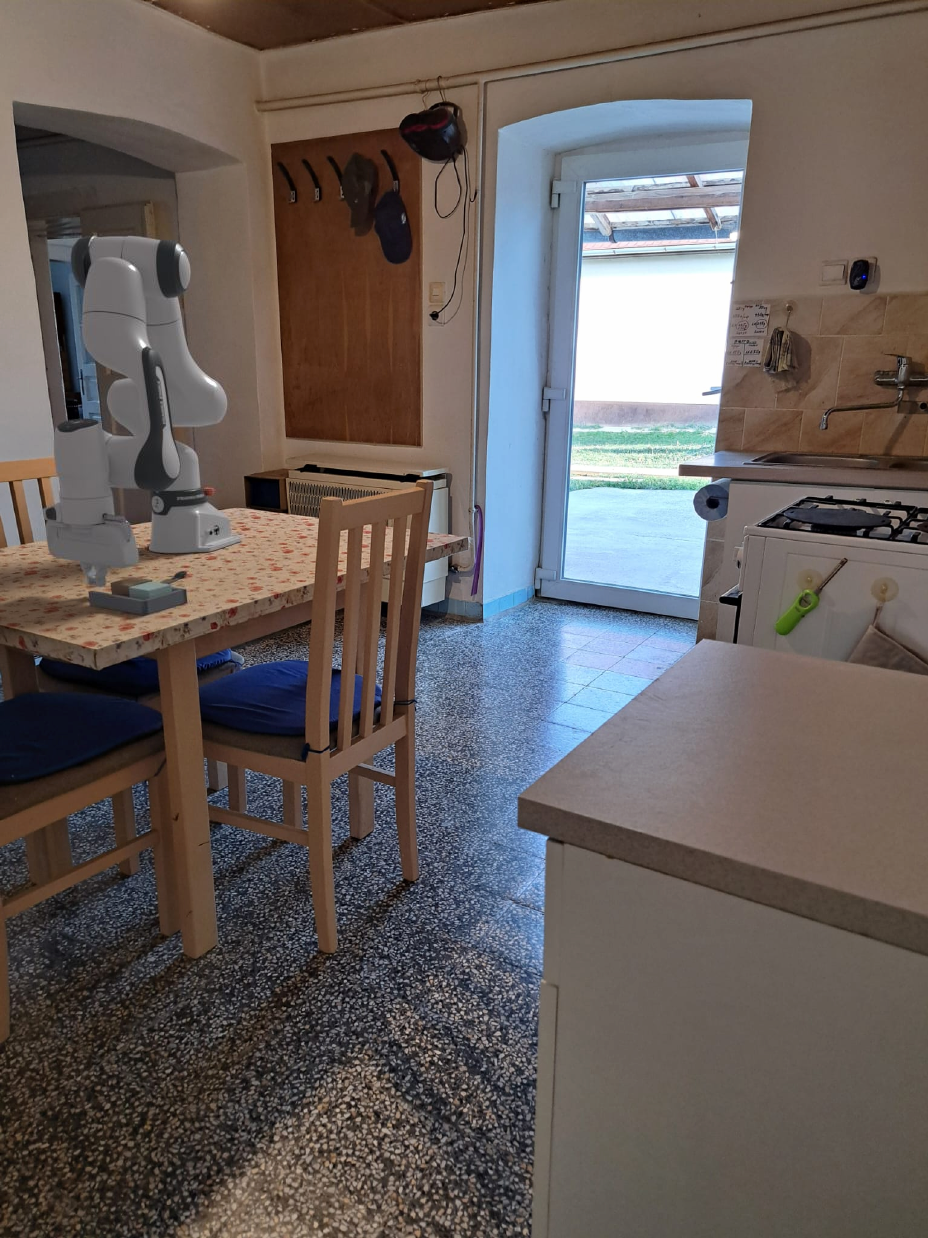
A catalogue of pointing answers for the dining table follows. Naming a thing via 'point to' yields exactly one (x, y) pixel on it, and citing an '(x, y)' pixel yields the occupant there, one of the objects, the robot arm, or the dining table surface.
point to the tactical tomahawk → (175, 577)
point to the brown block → (126, 585)
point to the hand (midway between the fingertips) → (97, 585)
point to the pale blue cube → (149, 590)
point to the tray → (138, 601)
